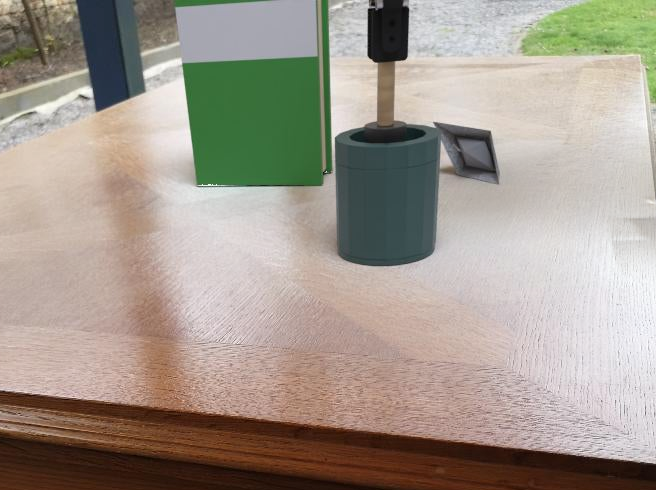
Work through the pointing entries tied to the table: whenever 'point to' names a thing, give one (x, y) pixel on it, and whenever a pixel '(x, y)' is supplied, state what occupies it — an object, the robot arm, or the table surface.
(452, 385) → the table surface
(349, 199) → the cup
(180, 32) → the hardback book
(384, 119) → the brush
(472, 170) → the paper boat
